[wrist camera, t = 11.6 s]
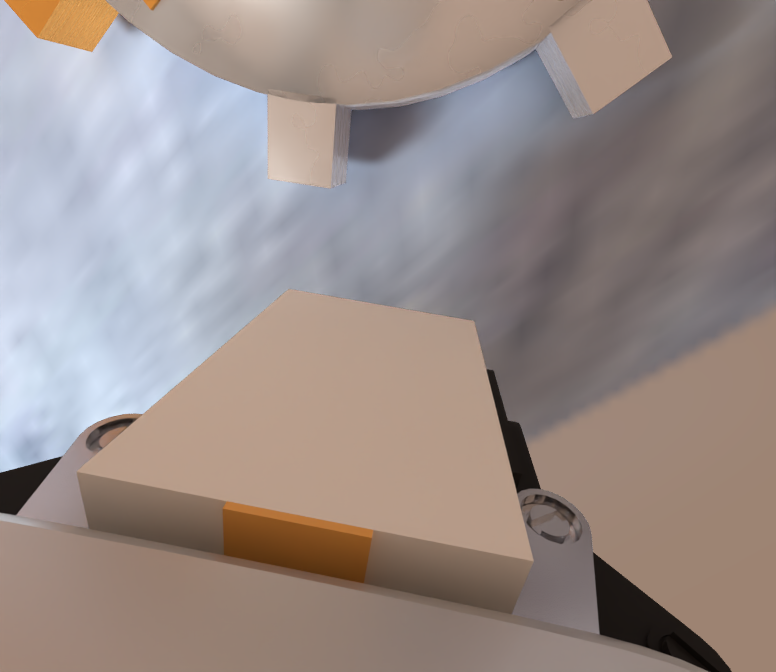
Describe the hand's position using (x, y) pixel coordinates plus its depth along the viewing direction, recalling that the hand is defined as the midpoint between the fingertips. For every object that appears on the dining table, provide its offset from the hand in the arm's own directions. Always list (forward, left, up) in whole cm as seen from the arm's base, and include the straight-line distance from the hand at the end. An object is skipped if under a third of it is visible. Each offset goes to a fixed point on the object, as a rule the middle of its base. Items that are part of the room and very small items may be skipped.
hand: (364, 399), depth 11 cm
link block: (0, 0, -1) cm, 1 cm away
